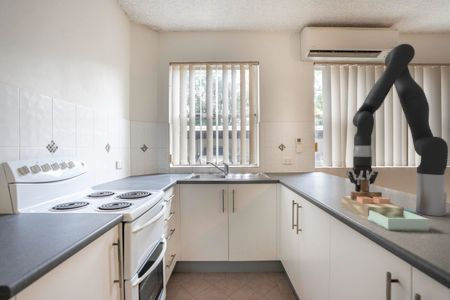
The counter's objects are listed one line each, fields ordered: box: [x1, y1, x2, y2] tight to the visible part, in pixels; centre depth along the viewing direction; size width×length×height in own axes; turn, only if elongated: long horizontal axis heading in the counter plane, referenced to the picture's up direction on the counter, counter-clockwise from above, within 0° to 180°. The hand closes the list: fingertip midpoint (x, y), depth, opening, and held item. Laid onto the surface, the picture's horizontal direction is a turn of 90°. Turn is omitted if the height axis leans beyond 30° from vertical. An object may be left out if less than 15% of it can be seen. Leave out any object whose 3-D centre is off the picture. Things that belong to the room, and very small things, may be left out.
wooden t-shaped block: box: [350, 178, 383, 199], centre depth 112 cm, size 13×6×8 cm, turn 89°
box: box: [367, 210, 430, 232], centre depth 89 cm, size 14×12×4 cm
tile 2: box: [373, 196, 391, 204], centre depth 104 cm, size 4×4×2 cm
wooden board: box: [341, 195, 405, 221], centre depth 106 cm, size 14×22×5 cm, turn 179°
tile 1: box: [357, 197, 373, 204], centre depth 104 cm, size 4×4×2 cm
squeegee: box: [391, 202, 424, 217], centre depth 116 cm, size 29×2×10 cm
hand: (362, 192), depth 112 cm, fingers closed on wooden t-shaped block, 3 cm apart
